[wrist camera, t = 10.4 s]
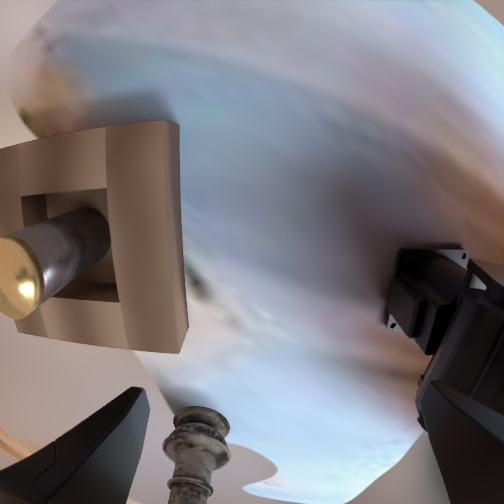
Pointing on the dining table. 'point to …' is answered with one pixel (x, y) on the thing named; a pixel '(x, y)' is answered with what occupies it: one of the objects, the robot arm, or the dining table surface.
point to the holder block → (121, 231)
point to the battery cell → (49, 258)
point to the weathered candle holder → (196, 453)
